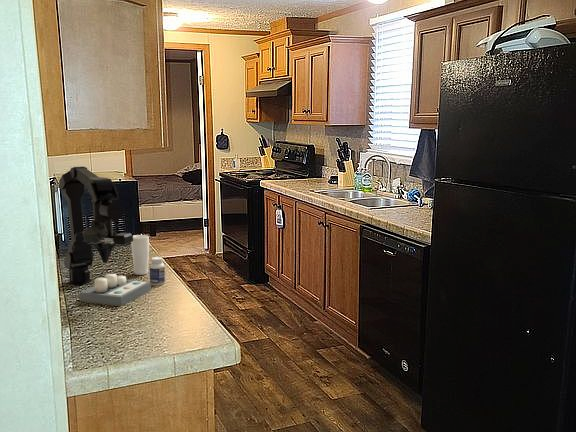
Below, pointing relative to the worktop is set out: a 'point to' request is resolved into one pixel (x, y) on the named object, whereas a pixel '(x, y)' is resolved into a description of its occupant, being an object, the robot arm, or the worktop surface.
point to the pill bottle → (157, 271)
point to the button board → (116, 293)
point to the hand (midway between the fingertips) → (105, 262)
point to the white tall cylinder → (140, 254)
